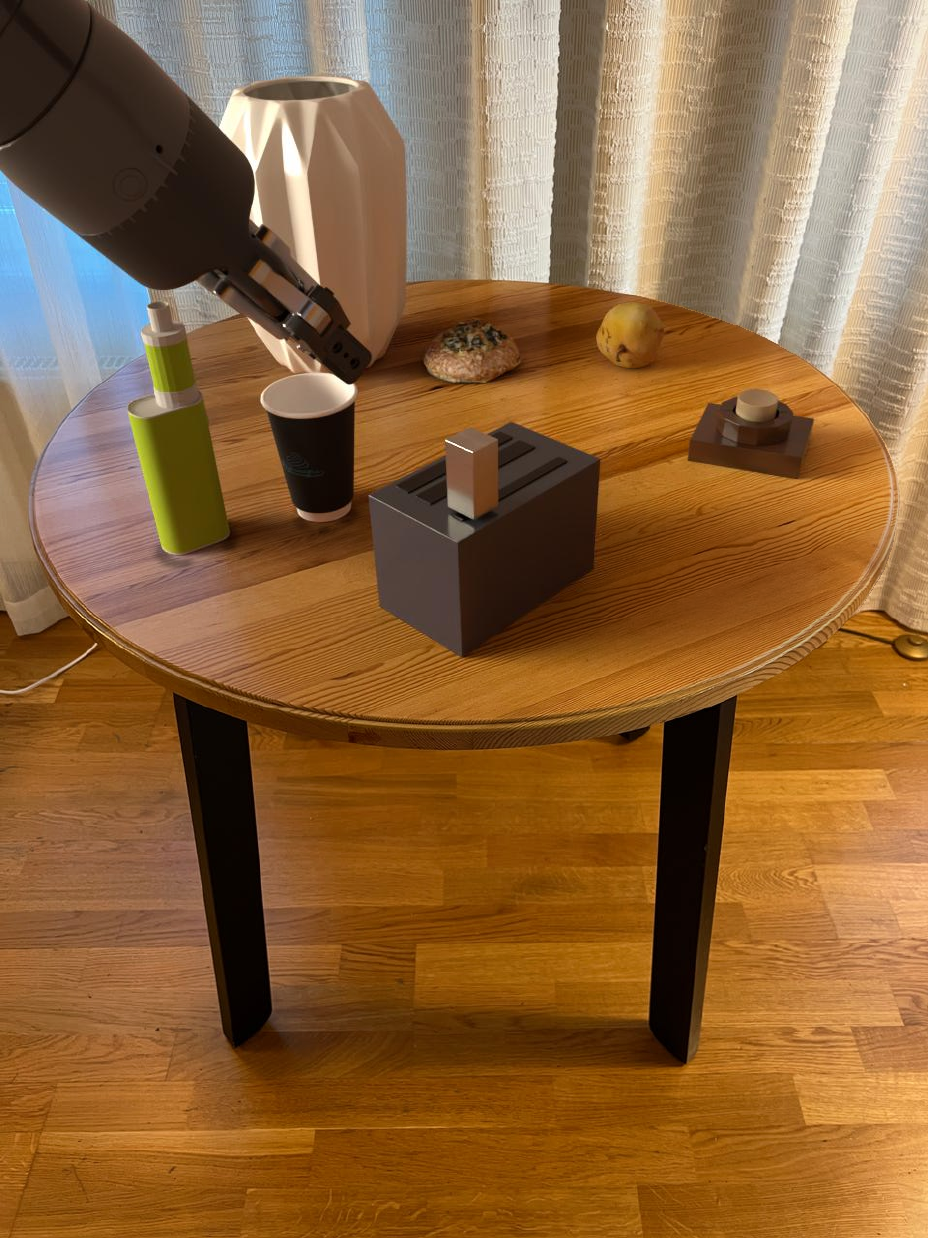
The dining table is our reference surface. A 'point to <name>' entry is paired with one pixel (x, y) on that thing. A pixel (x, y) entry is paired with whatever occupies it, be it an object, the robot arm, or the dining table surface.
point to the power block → (751, 440)
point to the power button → (756, 405)
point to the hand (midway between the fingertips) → (355, 366)
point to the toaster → (486, 541)
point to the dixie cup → (315, 441)
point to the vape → (177, 442)
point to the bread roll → (471, 353)
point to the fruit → (630, 335)
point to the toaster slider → (472, 472)
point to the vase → (329, 196)
